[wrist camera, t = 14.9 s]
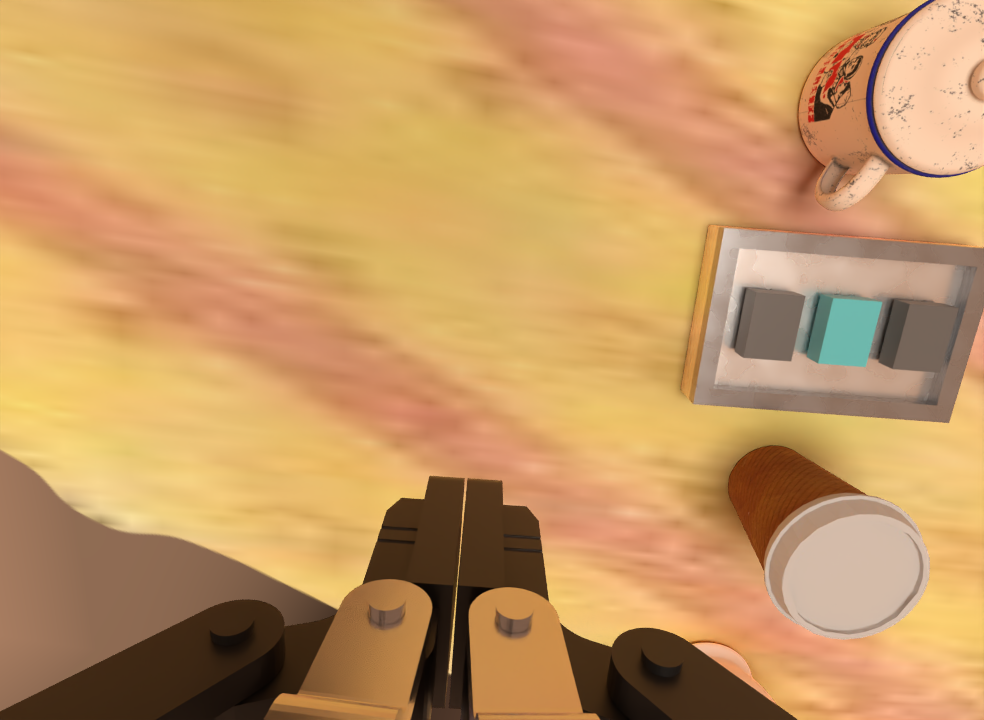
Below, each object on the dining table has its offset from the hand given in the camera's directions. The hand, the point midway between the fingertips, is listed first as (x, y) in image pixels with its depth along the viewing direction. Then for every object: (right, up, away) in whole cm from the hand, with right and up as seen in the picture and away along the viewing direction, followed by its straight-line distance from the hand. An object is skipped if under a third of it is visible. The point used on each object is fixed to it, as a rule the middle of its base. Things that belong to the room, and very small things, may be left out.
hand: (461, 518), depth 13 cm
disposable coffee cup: (+22, -6, +35) cm, 42 cm away
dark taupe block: (+29, +5, +28) cm, 41 cm away
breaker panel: (+24, +6, +31) cm, 40 cm away
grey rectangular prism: (+19, +6, +28) cm, 35 cm away
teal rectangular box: (+24, +5, +28) cm, 38 cm away
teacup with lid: (+24, +19, +28) cm, 41 cm away
